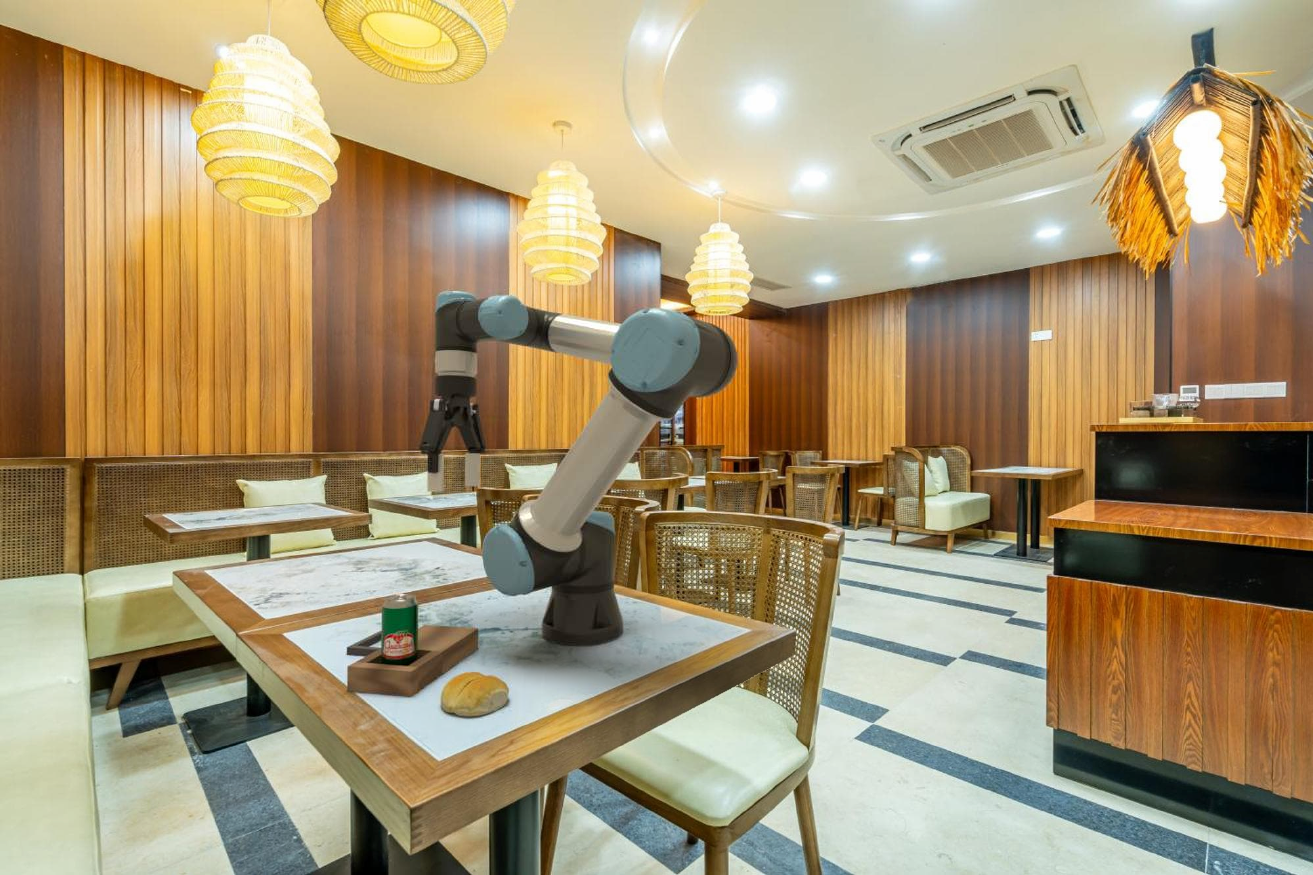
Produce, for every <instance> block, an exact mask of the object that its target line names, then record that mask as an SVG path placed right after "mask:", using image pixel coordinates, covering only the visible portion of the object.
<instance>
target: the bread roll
mask: <svg viewBox="0 0 1313 875" xmlns="http://www.w3.org/2000/svg"><path fill="white" fill-rule="evenodd" d="M509 690H510V689H509V686H508V685H507V683H506V682H505V681H504V680H502V679H500V677H497V676H495V675H492V674H491V675H485V674H483V673H481V672H477V671H470V672H468V671H467V672H463V673H461V674H458V675H456V676H454V677H453V678H451V679H449V680H448V681H447V683H446V684H445V685H444V686H443V689H442V691H441V695H440V706H441V708H442V710H443V711H445V712H446V713H450V714H456V716H460V717H468V718H473V717H479V716H484V715H489V714H490V713H493V712H496V711H498V710H499V709H501V708H502V707H504V706H505V705H506V704H507V702H508V700H509V692H510V691H509Z"/></svg>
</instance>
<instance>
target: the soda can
mask: <svg viewBox="0 0 1313 875" xmlns="http://www.w3.org/2000/svg"><path fill="white" fill-rule="evenodd" d="M416 596H417V595H414V594H412V593H411V594H409V593H408V594H407V593H399V594H393V595H389V596H387V597H385V598H384V602H383V604H382V605H381V630H380V631H381V640H380V643H381V644H380V646H381V647H380V648H381V664H385V665H397V666H409V665H410V664H412V663H414V662H415V661H417V660H418V628H419V602H418V600H417V597H416Z"/></svg>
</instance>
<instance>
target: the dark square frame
mask: <svg viewBox="0 0 1313 875" xmlns="http://www.w3.org/2000/svg"><path fill="white" fill-rule="evenodd" d="M378 642H381V630H380V631H377V632H375V633H373V634H371V635H369V636H368V637H365V638H363V639H360V640H359V641H357V642H354V643H353V644H351V645H348V646H346V655H349V656H362V657H366V656H368V655H370V654H371V653H373V652H375V651H377V650H379V649H381V647H376V646H373V645H374V644H376V643H378Z"/></svg>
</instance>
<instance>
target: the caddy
mask: <svg viewBox="0 0 1313 875" xmlns="http://www.w3.org/2000/svg"><path fill="white" fill-rule="evenodd" d="M478 649H479V628H478V627H477V628H476V627H465V626H463V627H462V626H452V625H451V626H449V625H435V624H434V625H433V624H424V625H422V626H420V627H418V660H417V661H415V662H414V663H412V664H410V665H409V666H397V665H385V664H381V649H379V650H377V651H375V652H373V653H371V654H370V655H368V656H363V658H361V659H359V660H357V661H355V662H352V663H351V664H349V665H347V670H346V671H347V676H346V677H347V678H346V679H347V680H346V681H347V685H346V689H347V690H346V691H347V692H355V693H367V694H376V695H388V696H400V697H410V698H411V697H413V696H414V695H416V694H417V693H419V692H420V691H421V690H423V689H424V688H426V687H427V686H429V684H431V683H432V682H434V681H435V680H437V679H438V678H439V677H441V676H442V675H443V674H445V673H447V672H448V671H449V670H451V669H452V668H453V667H455V666H457V664H459V663H460V662H462V661H463V660H465V659H466V658H467V657H468V656H470V655H472V654H474V652H475V651H477V650H478Z"/></svg>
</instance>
